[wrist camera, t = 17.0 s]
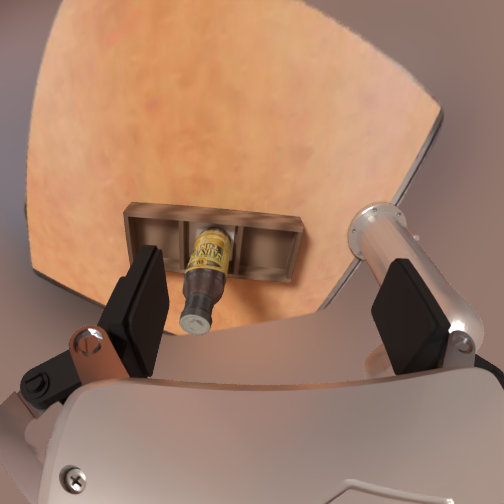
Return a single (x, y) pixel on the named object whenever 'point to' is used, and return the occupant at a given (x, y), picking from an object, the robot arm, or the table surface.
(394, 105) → the table surface
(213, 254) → the sauce bottle
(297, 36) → the table surface
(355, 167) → the table surface
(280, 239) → the walnut rack
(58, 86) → the table surface
